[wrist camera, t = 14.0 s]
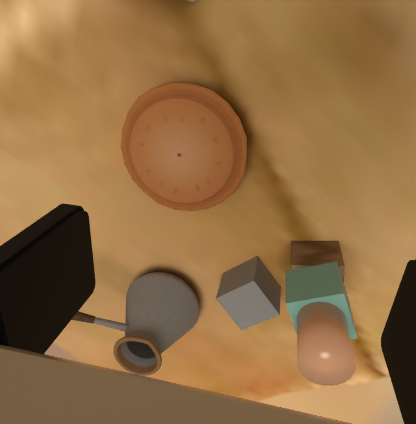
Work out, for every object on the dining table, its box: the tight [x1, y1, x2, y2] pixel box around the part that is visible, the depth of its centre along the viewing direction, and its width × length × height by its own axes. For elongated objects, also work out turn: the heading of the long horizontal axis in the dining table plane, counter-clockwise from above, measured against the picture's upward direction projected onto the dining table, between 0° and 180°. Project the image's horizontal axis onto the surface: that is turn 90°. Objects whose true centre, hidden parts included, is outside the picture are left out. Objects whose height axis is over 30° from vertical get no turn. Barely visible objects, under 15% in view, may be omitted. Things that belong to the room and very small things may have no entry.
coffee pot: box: [71, 272, 199, 375], centre depth 49 cm, size 21×12×15 cm, turn 58°
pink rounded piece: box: [297, 302, 355, 385], centre depth 35 cm, size 5×5×6 cm
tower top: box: [286, 261, 357, 339], centre depth 40 cm, size 6×6×6 cm
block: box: [216, 256, 281, 330], centre depth 49 cm, size 6×6×6 cm
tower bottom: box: [291, 241, 344, 283], centre depth 46 cm, size 6×6×6 cm
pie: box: [121, 82, 247, 211], centre depth 43 cm, size 15×16×5 cm
